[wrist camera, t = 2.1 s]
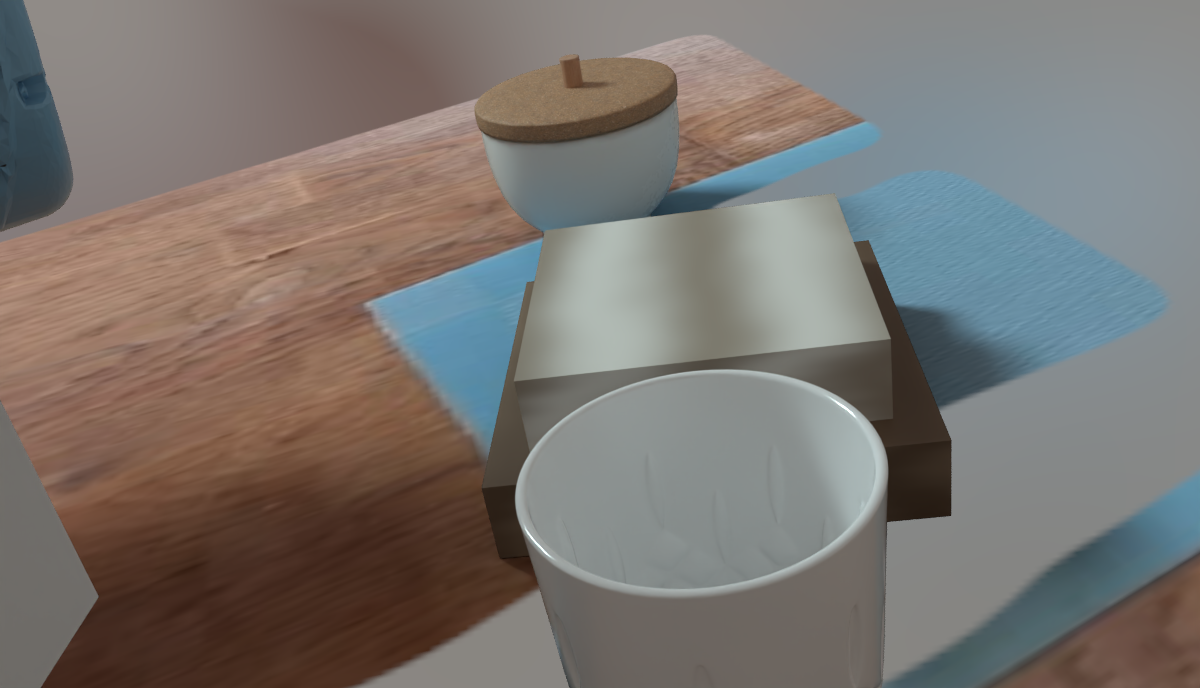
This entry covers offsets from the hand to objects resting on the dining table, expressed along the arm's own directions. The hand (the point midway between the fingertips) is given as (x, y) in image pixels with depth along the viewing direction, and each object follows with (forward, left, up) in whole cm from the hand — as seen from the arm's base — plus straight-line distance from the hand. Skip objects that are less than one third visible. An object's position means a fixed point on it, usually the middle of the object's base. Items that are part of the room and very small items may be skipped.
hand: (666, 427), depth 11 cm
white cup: (-9, +5, -18) cm, 21 cm away
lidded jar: (-44, +19, -18) cm, 51 cm away
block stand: (-24, +13, -18) cm, 32 cm away
